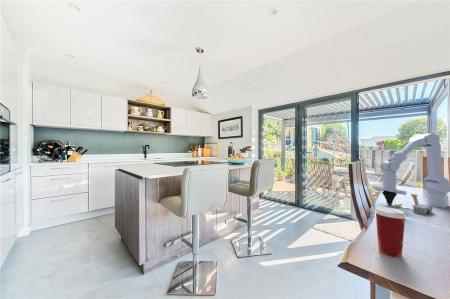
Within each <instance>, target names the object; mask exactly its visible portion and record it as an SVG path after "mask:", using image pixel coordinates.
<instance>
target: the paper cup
mask: <svg viewBox="0 0 450 299" xmlns="http://www.w3.org/2000/svg"><path fill="white" fill-rule="evenodd" d="M374 213H375V218H376V229H377V230H376V234H377V242H378V243H377V245H378V250H379V252H380V253H382V254H383V255H386V256H389V257H393V258H401V257H402V256H403V246H404V234H405V233H404V232H405V221H406V218H407V215H406V213H405V212H404V211H403V210H401V209H397V208H395V207H387V206H377V207H376V209H375V210H374Z"/></svg>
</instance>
